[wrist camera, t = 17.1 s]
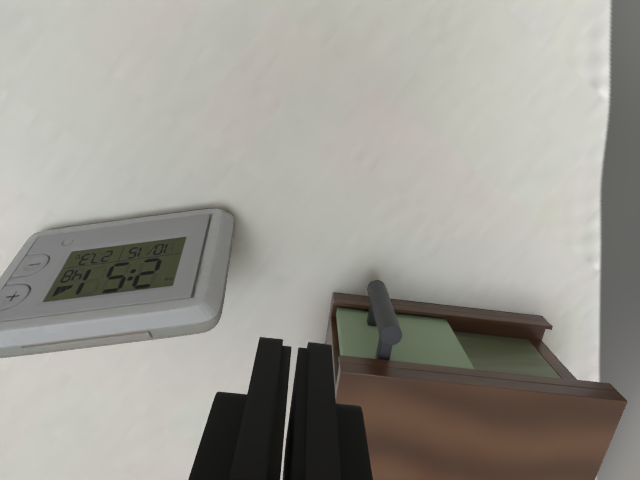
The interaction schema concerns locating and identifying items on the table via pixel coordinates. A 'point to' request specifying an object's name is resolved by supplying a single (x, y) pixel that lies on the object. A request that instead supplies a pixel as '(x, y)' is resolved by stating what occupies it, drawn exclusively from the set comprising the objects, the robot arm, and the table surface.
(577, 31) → the table surface
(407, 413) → the cabinet
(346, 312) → the sliding door
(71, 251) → the digital clock
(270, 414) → the robot arm
